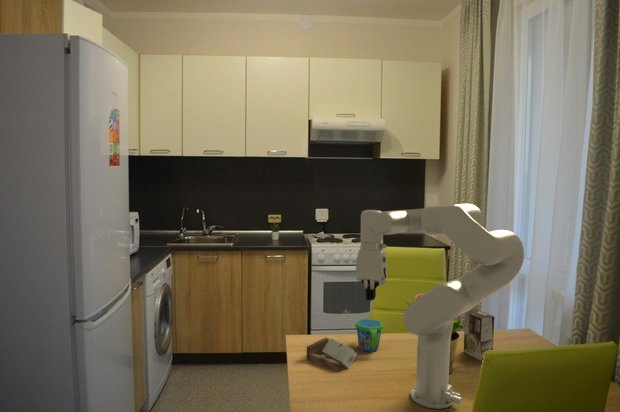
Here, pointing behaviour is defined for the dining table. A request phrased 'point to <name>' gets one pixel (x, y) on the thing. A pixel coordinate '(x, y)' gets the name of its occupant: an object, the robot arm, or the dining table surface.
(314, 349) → the u rest
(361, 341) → the snack cup
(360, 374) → the dining table surface
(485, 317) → the coffee box
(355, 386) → the dining table surface
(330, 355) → the skincare box
